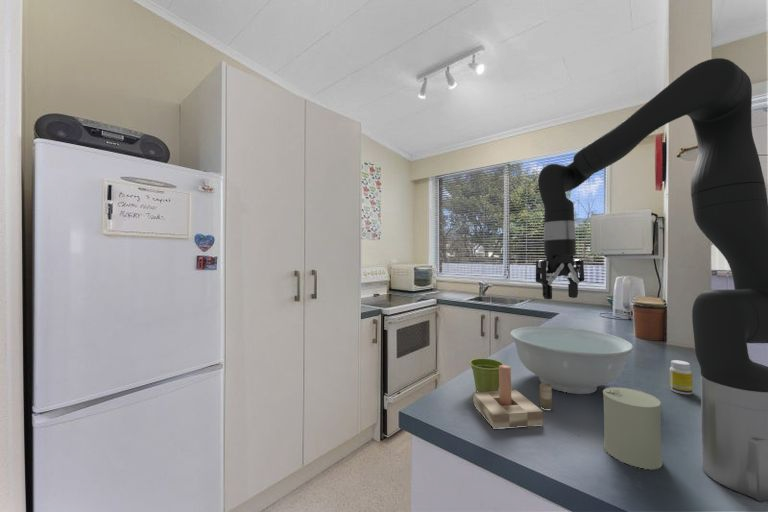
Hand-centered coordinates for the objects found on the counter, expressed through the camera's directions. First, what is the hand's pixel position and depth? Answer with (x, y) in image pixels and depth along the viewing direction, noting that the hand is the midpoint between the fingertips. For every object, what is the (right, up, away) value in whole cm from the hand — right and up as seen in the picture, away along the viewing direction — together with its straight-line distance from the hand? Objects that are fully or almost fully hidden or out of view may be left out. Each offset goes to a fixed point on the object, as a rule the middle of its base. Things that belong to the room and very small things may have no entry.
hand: (560, 298), depth 86 cm
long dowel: (-18, -28, -7) cm, 34 cm away
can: (+1, -28, -23) cm, 36 cm away
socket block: (-18, -28, -7) cm, 34 cm away
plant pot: (-18, -29, +6) cm, 34 cm away
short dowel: (-6, -28, -4) cm, 29 cm away
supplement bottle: (+37, -28, +5) cm, 47 cm away
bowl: (+9, -28, +12) cm, 32 cm away
